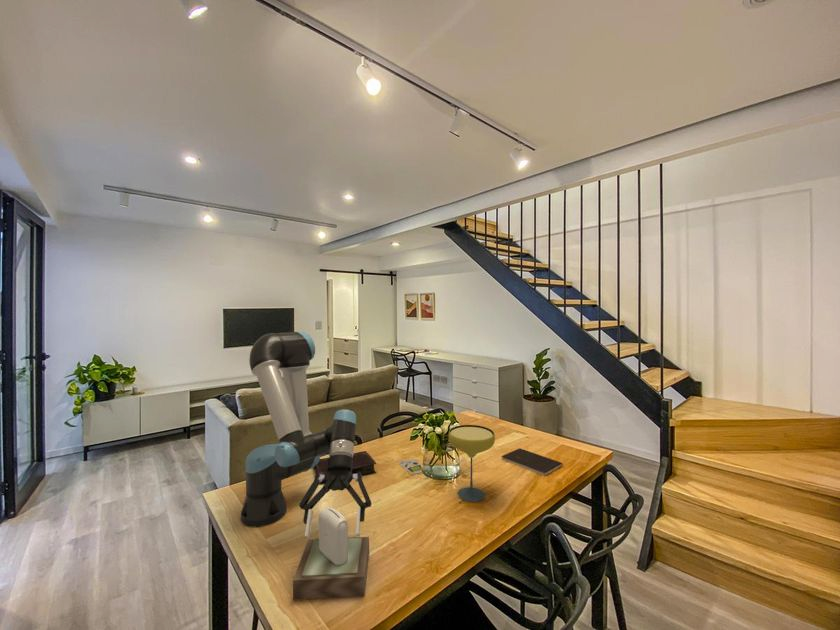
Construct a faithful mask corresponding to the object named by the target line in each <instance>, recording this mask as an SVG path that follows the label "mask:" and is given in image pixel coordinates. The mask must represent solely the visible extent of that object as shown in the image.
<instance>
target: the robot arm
mask: <svg viewBox="0 0 840 630" xmlns="http://www.w3.org/2000/svg"><path fill="white" fill-rule="evenodd" d="M315 354H316V346H315V341H314V340H313V338H312V336H311V335H310V334H309V333H307V332H304V331H290V332H276V333H275V332H271V333H265V334H264V335H262V336H260V337H259V338H258V339H257V340H256V341H255V342H254V344H253V346H252V347H251V349H250V353H249V367H250V370H251V373H252V375H253V376H256V378H257V381H258V383H259V386H260V389H261V392H262V395H263V398H264V401H265V404H266V407H267V410H268V413H269V416H270V418H271V422H272V424H273V427H274V430H275V433H276V436H277V439H278V442H279V443H270V444H264V445H261V446H259V447H256V448H254V449H253V450H251V451H250V452H249V453H248V454H247V456H246V459H245V467H244V470H245V498H244V501H243V505H242V508H241V511H240V522H241V524H243V525H244V526H246V527H251V528H252V527H254V528H255V527H256V528H257V527H258V528H259V527H264V526H267V525H272V524H274V523H275V522H278V521H279V520H281V519H282V518H283V517H284V516H285V515H286V514H287V510H288V507H287V506H288V504H287V501H286V498H285V495H284V493H283V490H282V481H284V480H286V479H289V478H291V477H294V476H296V475H297V476H298V475H299V474H302V473H305V472H308V471H309V470H312V469H315V468H314V467H315V466H316V465H317V464H318V462H319V460H320V459H321V456H322V457H325V456H327V455H328V458H329V459H328V466H327V472H326V474H325V475H320V474H319V473H317V472H316V473H315V475H314V479H313V481H312V482H311V485H310V486H309V487H308V489H307V491H306V493H305V494H304V496H303V497H302V499H301V500H300V502H299V504H298V506H299V508H300V510H304V515H303V521H302V522H303V524H305V532H304V537H305V538H306V539H310V536H311V529H312V521H313V516H314V515H313V514H314V511H313V509H314V507H315V506H316V505H317V504H318V503H319V502H320V500H322V499H323V498H324V496H325V495H327V493H328V492H330V490H331V491H332V492H333V491H334V492H335V491H344V490H347V492H348V493H349V494H350V496H351V497H352V498H353V499H354V501H355V502H356V504H357V505H358V506H359V507H358V506H357V514H356V528H355V535H356V536H355V537H360V533H361V532H360V531H361V523H363V522H364V521H365V517H366V509H368V508H371V507H372V501H371V498H370V496H369V492H368V490H367V488H366V486H365V484H364V481H363V476H362V474H361V472H358V473H357V474H352V465H353V459H352V458H353V453H355V452H354V450H355V437H356V428H357V415H356V413H355V412H354V411H353V410H350V409H339V410H337V411H336V412H334V416H333V419H332V420H333V421H332V423H331V424H330V425H329V426H328V427H327V428H325V429H323V430H320V431H317V432H313V433H312V432H311V430H310V422H309V421H310V417H309V403H308V401H309V400H308V383H307V381H308V380H307V369H308V368H309V367H310V365H311V364H310V361H311V360H313V359H314V357H315ZM281 372H282V373H281ZM324 479H325V481H326V483H325V484H323V486H322V487H321V488H320V490H319V491H317V493H316V494H315V492H316V490H317V489H318V487H319V486H320V484H319V483H321V482H322V480H324ZM353 479H354V480H355V482H356V483H357V482H358V485H359V489H360V491H361V493H362V494H361V495H363V498H364V500H365V501H363V500H362V498H361V497H360V495H359V494H358V493H357V492H356V490H355V489H354V487H353V486H352V484H350V483H351V482H352V481H353ZM313 495H314V496H313Z"/></svg>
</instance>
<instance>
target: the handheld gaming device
mask: <svg viewBox="0 0 840 630" xmlns="http://www.w3.org/2000/svg"><path fill="white" fill-rule="evenodd" d="M410 459H412V460H410ZM404 461H405V462H404ZM397 463H398V464H399V465H400V466H401V467H402V468H403V469H404V468H405V469H406V470H407V472H408V474H410V475H411V474H412V473H411V472H414V475H417V473H418V474H421V472H422V471H421V465H423V464H421V463H420V462H419V461H418V460H416V458H413V457H412V458H408V459H404V460H399V461H398V462H397ZM410 463H411V464H412V465H411V466H410V465H409V464H410ZM412 466H413V467H412ZM408 467H409V468H408ZM405 469H404V470H405ZM406 470H405V471H406ZM409 471H411V472H409ZM422 473H423V472H422Z"/></svg>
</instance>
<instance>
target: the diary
mask: <svg viewBox="0 0 840 630" xmlns="http://www.w3.org/2000/svg"><path fill="white" fill-rule="evenodd" d="M329 458H330V457H325V458H320V460H319V462H318V464H317V465H316V466H315V467H314V468H313V469H315V471H316V473H319V474H320V475H325V474H326V472H327V466H328V459H329ZM352 459H353V465H352V474H357V473H358V472H361V474H362V477H363V476H365V477H366V476H370V475H375V474H377V472H376V470H375V465H377V462H376V460H374V458H373V457H372V455H370V454H369V453H368V451H366V450H363V451H359V452H358V451H357V452H354V453H353V458H352ZM325 483H326V481H325V479H324V480H322V482H321V483H319V485H324V484H325Z"/></svg>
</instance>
